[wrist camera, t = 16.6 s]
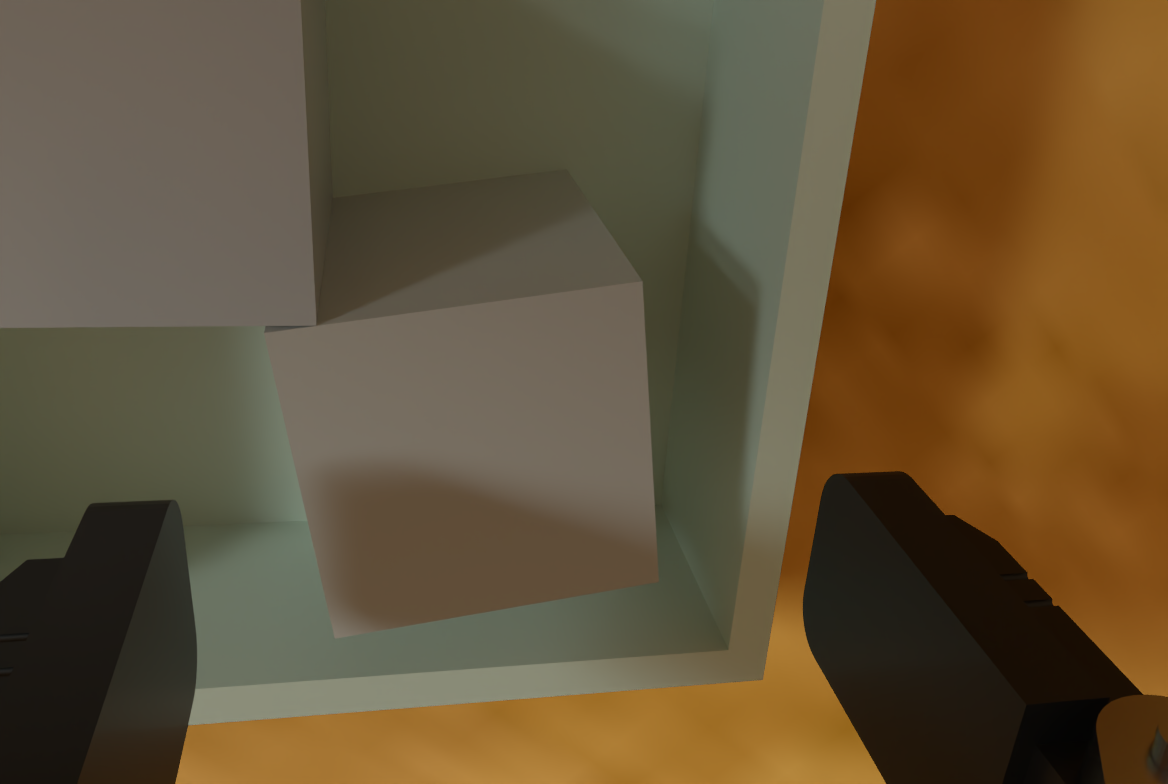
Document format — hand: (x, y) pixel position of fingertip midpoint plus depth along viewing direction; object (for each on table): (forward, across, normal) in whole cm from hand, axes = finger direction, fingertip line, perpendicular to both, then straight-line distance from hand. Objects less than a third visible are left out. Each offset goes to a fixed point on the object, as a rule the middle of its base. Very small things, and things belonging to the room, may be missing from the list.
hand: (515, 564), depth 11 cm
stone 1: (+7, +4, -4) cm, 9 cm away
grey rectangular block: (+7, 0, 0) cm, 7 cm away
